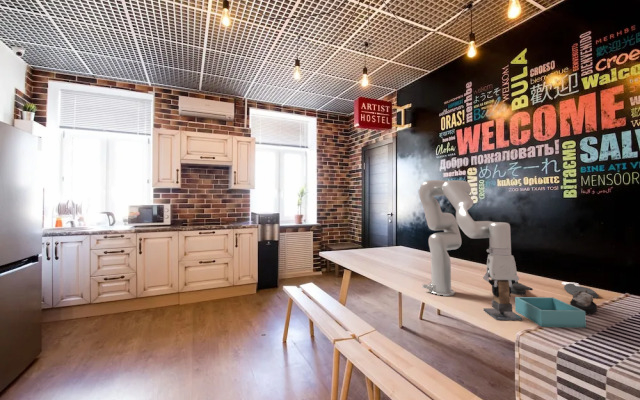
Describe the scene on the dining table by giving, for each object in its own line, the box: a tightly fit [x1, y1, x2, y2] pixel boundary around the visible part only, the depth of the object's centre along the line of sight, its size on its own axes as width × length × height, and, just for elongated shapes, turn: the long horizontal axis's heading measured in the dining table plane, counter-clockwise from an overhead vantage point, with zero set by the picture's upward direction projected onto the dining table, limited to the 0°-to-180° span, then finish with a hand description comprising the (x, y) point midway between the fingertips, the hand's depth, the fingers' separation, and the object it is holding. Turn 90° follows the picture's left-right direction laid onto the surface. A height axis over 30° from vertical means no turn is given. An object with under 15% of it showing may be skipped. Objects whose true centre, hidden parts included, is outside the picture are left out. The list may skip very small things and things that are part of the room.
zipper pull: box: [510, 280, 534, 296], centre depth 142 cm, size 9×7×25 cm
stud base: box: [483, 307, 524, 321], centre depth 115 cm, size 10×10×6 cm
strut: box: [491, 280, 513, 312], centre depth 115 cm, size 5×5×12 cm
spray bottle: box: [561, 281, 599, 299], centre depth 146 cm, size 3×11×24 cm
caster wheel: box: [569, 290, 598, 315], centre depth 119 cm, size 7×11×10 cm
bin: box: [514, 296, 587, 328], centre depth 111 cm, size 16×16×6 cm
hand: (501, 295), depth 115 cm, fingers closed on strut, 4 cm apart
